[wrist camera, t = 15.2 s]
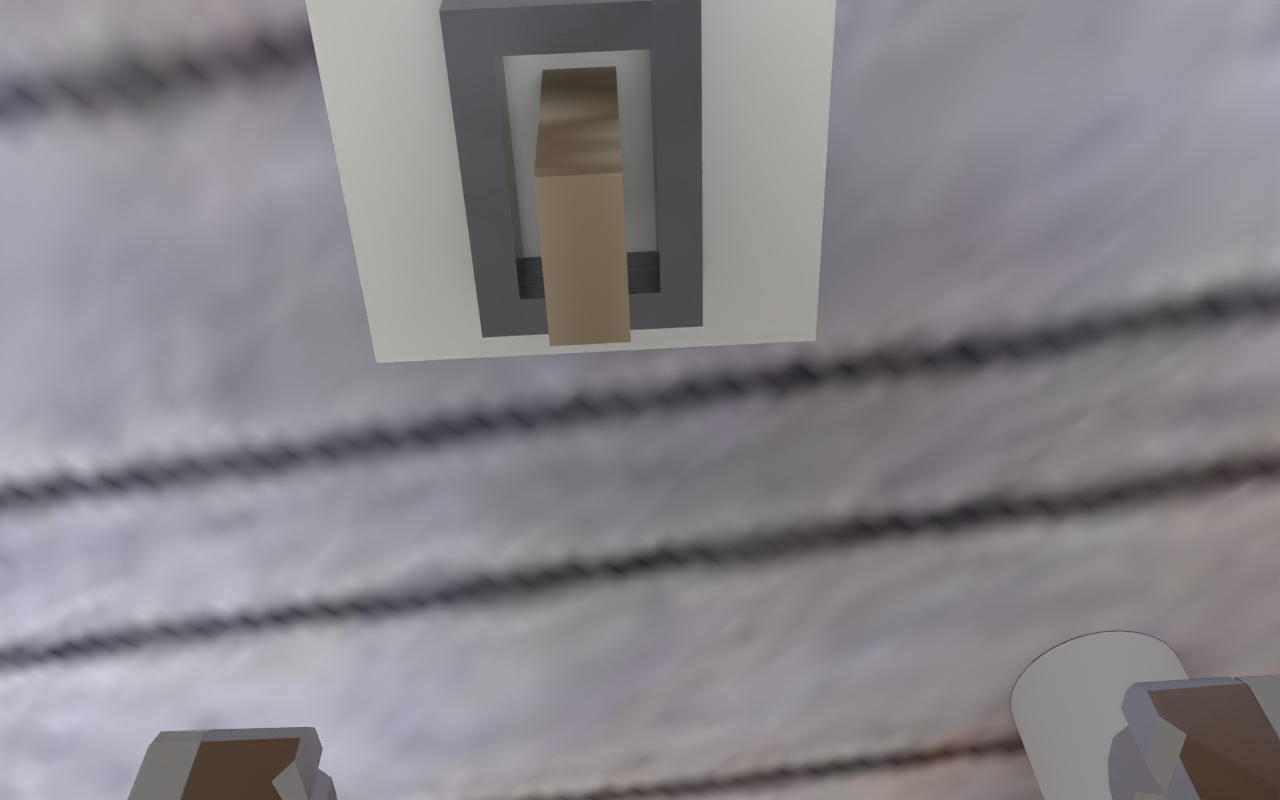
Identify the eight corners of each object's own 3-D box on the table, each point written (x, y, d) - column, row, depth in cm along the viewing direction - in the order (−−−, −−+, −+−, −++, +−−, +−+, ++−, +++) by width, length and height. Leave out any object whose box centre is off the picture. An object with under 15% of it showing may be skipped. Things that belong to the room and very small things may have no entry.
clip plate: (835, -141, 31) (844, -132, 30) (809, 321, 39) (815, 341, 38) (294, -117, 30) (284, -106, 29) (381, 342, 38) (376, 363, 37)
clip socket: (693, -31, 31) (701, -2, 29) (696, 283, 36) (703, 326, 34) (448, -19, 31) (439, 10, 29) (488, 294, 36) (482, 337, 34)
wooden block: (615, 65, 32) (623, 173, 26) (623, 215, 35) (631, 342, 29) (542, 69, 32) (534, 177, 26) (555, 218, 35) (549, 346, 29)
